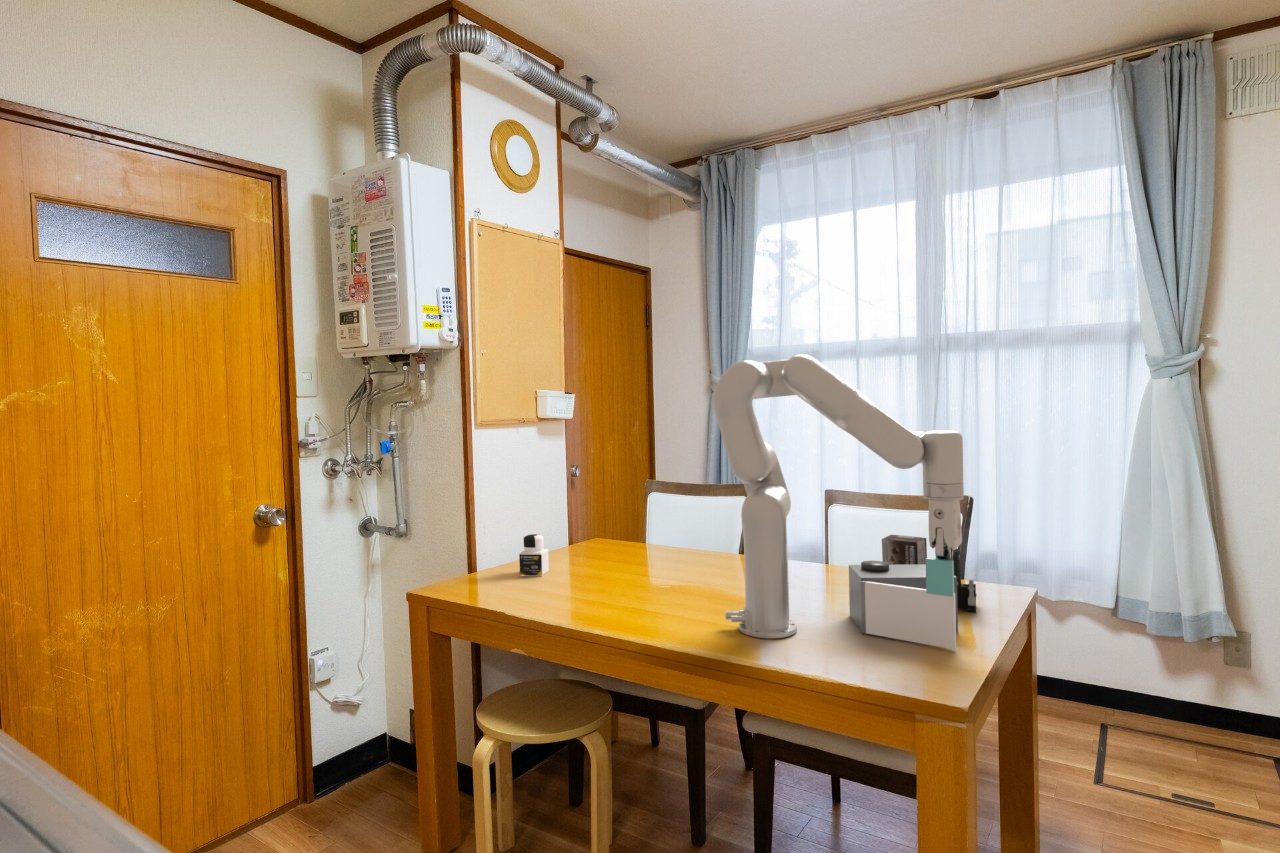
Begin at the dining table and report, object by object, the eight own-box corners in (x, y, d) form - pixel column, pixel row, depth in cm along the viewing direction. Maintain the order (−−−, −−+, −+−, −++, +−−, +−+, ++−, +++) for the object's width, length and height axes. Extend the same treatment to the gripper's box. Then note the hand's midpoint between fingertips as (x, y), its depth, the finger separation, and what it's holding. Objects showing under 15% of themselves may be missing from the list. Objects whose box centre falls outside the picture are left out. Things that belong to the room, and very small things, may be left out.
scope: (975, 554, 155) (928, 551, 160) (976, 613, 156) (929, 609, 160) (976, 547, 163) (931, 545, 167) (977, 604, 163) (932, 600, 168)
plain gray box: (862, 632, 145) (860, 572, 145) (849, 615, 157) (848, 559, 157) (957, 632, 143) (956, 571, 143) (938, 615, 155) (936, 559, 155)
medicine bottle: (519, 576, 204) (518, 537, 204) (527, 570, 211) (526, 533, 211) (542, 576, 203) (540, 537, 203) (549, 571, 210) (547, 533, 210)
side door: (860, 632, 144) (858, 551, 143) (862, 630, 145) (860, 550, 145) (954, 649, 132) (953, 561, 132) (956, 647, 133) (954, 560, 133)
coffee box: (929, 602, 166) (928, 537, 165) (919, 608, 161) (918, 541, 161) (892, 596, 172) (891, 533, 172) (882, 601, 167) (881, 537, 167)
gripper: (957, 496, 128) (959, 591, 129) (968, 487, 141) (970, 574, 141) (915, 494, 132) (917, 587, 133) (930, 486, 145) (932, 570, 145)
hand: (944, 580), depth 137 cm, fingers closed
